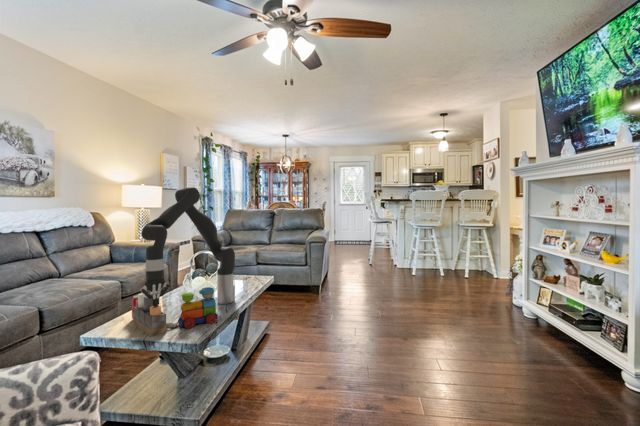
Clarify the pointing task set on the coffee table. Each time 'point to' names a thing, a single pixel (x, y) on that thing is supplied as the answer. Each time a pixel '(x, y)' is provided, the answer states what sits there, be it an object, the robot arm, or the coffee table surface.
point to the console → (150, 322)
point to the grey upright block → (147, 304)
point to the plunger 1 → (141, 301)
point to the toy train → (197, 309)
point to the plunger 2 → (155, 311)
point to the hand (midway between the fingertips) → (155, 306)
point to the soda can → (134, 304)
